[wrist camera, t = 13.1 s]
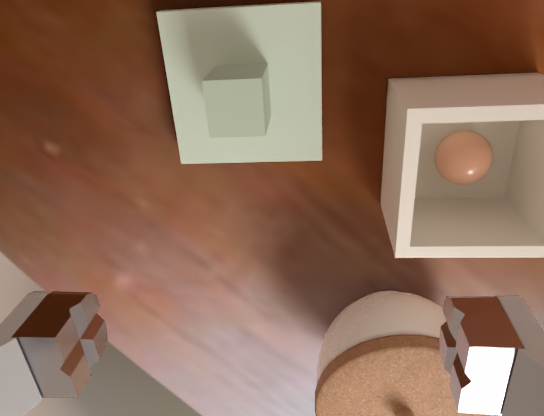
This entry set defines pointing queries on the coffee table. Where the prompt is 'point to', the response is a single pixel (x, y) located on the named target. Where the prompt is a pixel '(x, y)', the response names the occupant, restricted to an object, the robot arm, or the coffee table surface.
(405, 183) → the cream box
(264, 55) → the lid
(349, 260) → the coffee table surface
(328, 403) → the lidded jar
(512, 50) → the coffee table surface
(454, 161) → the ball
